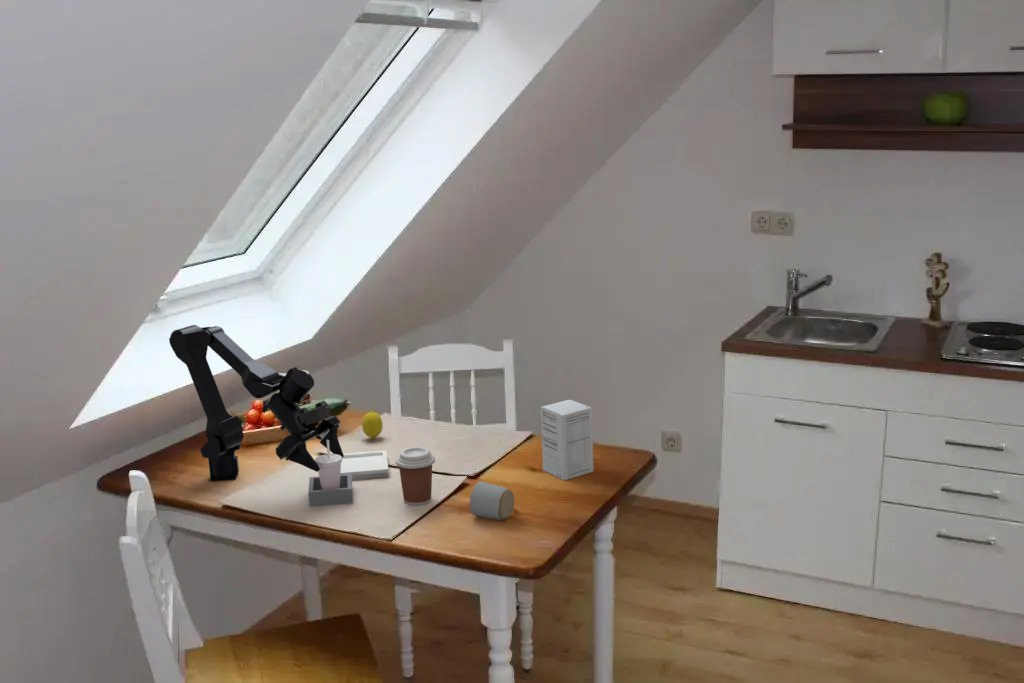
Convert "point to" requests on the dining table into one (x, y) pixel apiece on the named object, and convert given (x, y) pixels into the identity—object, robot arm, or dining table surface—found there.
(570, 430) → the supplement box
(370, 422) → the lemon
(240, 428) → the robot arm
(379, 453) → the tray
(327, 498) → the holder
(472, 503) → the grey cylinder
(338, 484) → the smoothie
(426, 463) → the coffee cup
